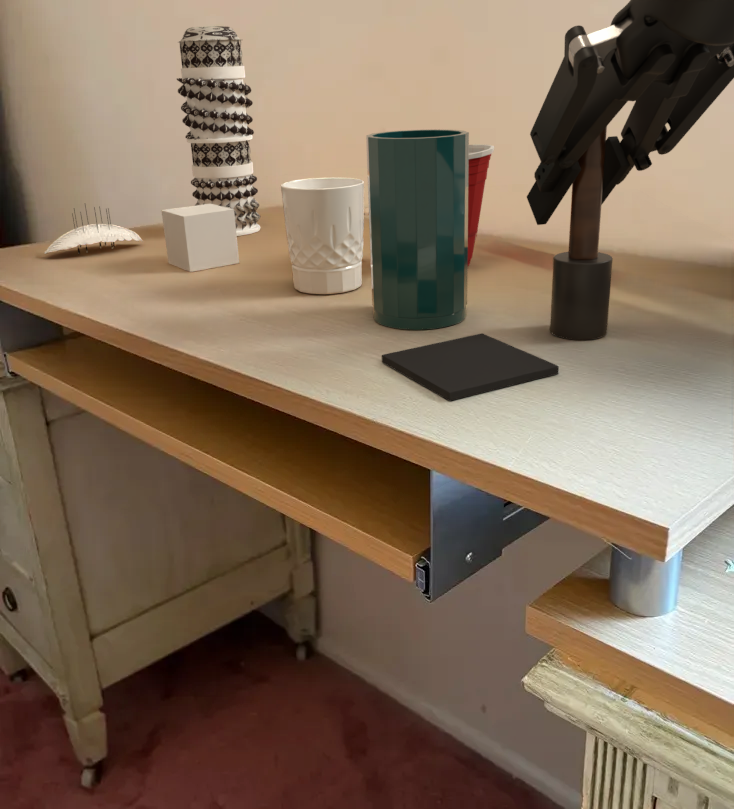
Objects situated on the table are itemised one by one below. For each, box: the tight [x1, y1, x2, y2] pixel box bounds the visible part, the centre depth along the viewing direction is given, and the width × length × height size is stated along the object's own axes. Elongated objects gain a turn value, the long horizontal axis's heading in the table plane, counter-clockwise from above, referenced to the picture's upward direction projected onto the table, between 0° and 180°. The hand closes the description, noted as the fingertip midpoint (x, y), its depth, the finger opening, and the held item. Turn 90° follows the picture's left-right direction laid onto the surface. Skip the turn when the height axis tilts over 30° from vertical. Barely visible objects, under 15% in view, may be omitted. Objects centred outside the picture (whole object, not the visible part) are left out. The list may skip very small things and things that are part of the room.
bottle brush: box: [549, 74, 614, 341], centre depth 62 cm, size 4×4×21 cm
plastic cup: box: [468, 144, 495, 267], centre depth 87 cm, size 11×11×12 cm
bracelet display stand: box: [176, 25, 261, 237], centre depth 107 cm, size 9×9×25 cm
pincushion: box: [43, 204, 144, 255], centre depth 101 cm, size 12×6×6 cm, turn 122°
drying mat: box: [381, 333, 560, 402], centre depth 59 cm, size 9×9×1 cm
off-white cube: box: [160, 204, 240, 273], centre depth 93 cm, size 6×6×6 cm
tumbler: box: [365, 128, 470, 331], centre depth 69 cm, size 8×8×15 cm
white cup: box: [280, 176, 365, 295], centre depth 80 cm, size 8×8×10 cm
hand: (559, 207), depth 66 cm, fingers open, 3 cm apart
